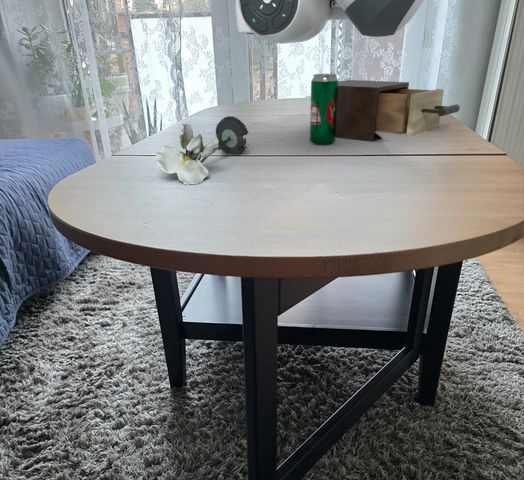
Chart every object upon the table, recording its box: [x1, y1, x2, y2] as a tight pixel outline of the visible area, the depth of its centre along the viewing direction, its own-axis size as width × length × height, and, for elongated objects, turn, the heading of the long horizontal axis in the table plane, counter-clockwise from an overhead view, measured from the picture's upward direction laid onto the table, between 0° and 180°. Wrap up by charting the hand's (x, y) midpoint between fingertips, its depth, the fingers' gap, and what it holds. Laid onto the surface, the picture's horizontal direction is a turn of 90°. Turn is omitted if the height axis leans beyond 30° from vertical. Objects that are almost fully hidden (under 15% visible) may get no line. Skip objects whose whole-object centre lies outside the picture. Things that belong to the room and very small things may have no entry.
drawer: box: [375, 88, 461, 136], centre depth 100 cm, size 18×11×8 cm, turn 49°
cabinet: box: [336, 79, 410, 143], centre depth 106 cm, size 15×13×10 cm
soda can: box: [309, 73, 339, 146], centre depth 97 cm, size 5×5×12 cm
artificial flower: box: [155, 115, 249, 186], centre depth 82 cm, size 9×22×10 cm, turn 155°
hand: (315, 7), depth 79 cm, fingers open, 8 cm apart
